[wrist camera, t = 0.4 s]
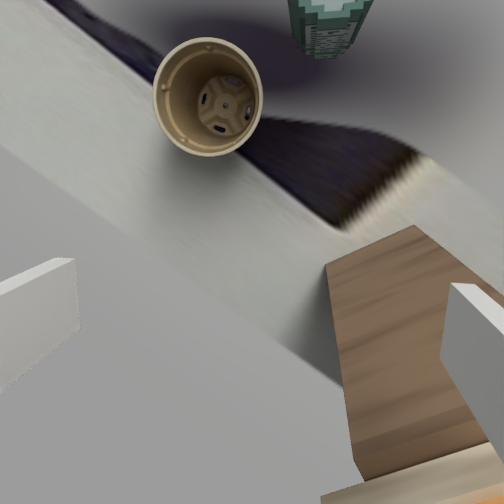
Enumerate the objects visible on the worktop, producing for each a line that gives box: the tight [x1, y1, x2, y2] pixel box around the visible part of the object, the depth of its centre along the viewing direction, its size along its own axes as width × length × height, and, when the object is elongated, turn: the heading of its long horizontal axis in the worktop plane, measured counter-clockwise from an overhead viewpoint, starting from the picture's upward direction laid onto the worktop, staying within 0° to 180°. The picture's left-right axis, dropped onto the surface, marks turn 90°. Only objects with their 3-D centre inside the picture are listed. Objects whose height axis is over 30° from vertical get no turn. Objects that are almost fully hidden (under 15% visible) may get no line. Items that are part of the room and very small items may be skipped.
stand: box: [325, 225, 504, 482], centre depth 32 cm, size 7×10×30 cm
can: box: [288, 0, 374, 60], centre depth 34 cm, size 6×6×15 cm
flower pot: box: [152, 37, 263, 157], centre depth 40 cm, size 9×9×9 cm
